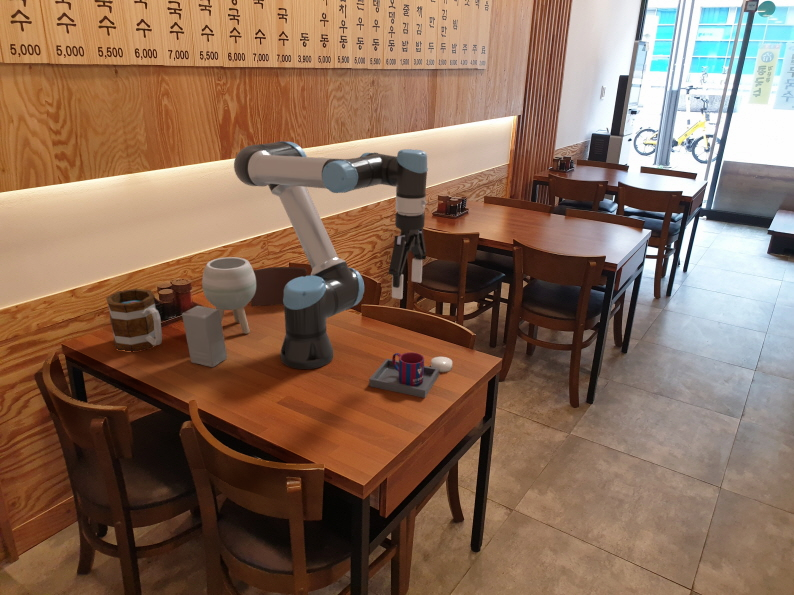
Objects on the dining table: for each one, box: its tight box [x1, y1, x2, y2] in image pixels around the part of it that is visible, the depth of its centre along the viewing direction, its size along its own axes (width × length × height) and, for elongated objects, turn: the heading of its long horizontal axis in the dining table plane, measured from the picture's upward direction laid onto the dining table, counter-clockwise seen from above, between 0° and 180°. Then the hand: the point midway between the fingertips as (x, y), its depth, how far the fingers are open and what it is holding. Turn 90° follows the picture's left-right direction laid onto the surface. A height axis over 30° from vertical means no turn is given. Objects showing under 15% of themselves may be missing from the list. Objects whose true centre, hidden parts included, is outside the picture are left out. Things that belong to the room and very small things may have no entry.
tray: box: [368, 358, 440, 399], centre depth 158 cm, size 16×13×2 cm
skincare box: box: [181, 305, 228, 368], centre depth 163 cm, size 8×7×16 cm
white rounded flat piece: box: [430, 356, 453, 373], centre depth 166 cm, size 6×6×2 cm
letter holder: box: [250, 266, 308, 307], centre depth 208 cm, size 10×20×14 cm, turn 102°
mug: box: [105, 288, 163, 353], centre depth 172 cm, size 20×14×15 cm
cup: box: [391, 352, 425, 386], centre depth 157 cm, size 7×10×7 cm
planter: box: [201, 256, 256, 335], centre depth 183 cm, size 16×16×22 cm
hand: (407, 289), depth 157 cm, fingers open, 13 cm apart
